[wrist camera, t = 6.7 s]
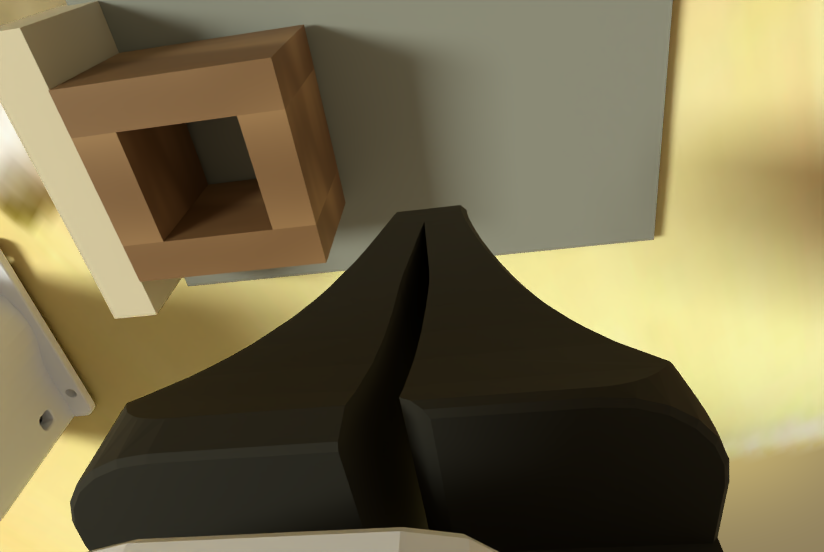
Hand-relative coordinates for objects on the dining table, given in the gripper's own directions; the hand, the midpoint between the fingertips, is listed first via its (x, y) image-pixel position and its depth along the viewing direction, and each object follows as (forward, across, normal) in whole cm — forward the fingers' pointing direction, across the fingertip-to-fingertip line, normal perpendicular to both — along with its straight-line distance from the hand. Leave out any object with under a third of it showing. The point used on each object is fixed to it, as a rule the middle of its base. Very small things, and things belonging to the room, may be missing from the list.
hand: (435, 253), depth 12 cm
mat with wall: (+10, +2, 0) cm, 10 cm away
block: (+10, +7, 0) cm, 12 cm away
